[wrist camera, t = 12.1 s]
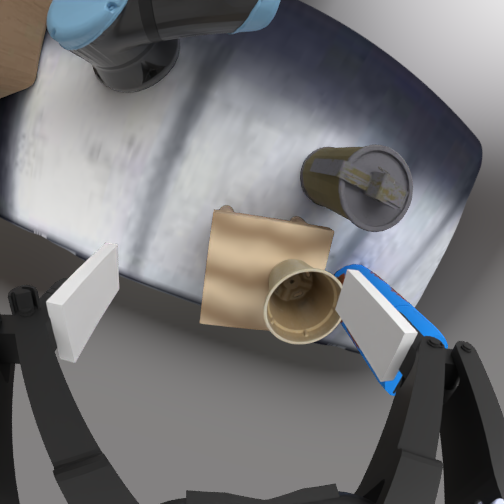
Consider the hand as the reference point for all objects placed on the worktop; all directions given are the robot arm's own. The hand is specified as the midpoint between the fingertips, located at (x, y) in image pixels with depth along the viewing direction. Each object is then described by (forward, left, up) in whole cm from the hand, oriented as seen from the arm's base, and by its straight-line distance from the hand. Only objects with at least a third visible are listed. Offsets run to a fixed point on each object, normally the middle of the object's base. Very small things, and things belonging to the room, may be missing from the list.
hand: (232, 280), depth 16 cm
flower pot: (+8, +10, -21) cm, 25 cm away
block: (-28, -53, -33) cm, 68 cm away
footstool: (+8, +6, -33) cm, 35 cm away
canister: (-7, +16, -33) cm, 38 cm away
